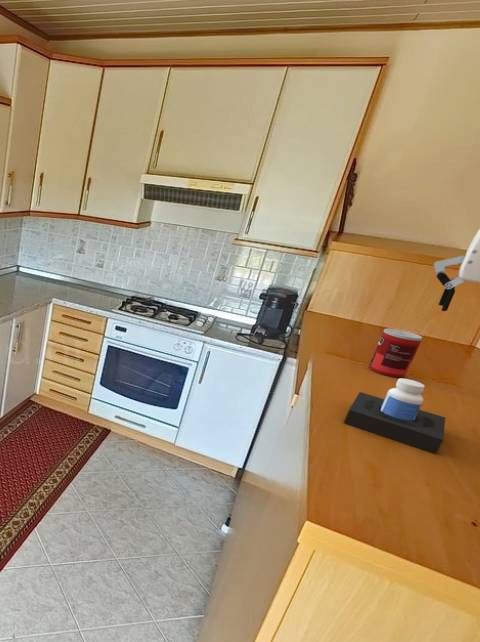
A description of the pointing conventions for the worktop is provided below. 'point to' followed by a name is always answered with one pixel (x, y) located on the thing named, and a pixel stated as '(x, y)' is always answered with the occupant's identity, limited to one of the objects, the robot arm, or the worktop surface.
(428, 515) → the worktop surface
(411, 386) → the pill bottle
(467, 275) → the robot arm
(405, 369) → the canned food
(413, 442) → the socket pad
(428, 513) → the worktop surface
